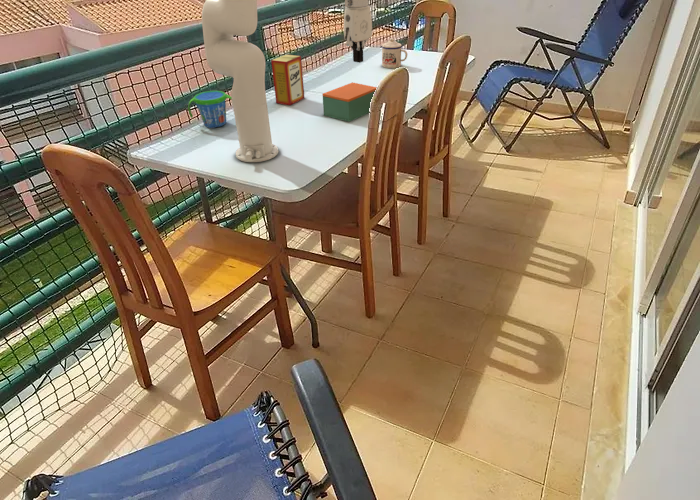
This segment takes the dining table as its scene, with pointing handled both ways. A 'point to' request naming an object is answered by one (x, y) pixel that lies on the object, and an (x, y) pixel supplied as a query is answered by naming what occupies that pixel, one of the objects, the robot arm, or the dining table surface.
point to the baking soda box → (288, 79)
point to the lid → (349, 92)
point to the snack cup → (211, 107)
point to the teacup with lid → (392, 54)
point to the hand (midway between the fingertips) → (358, 61)
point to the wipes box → (347, 107)
